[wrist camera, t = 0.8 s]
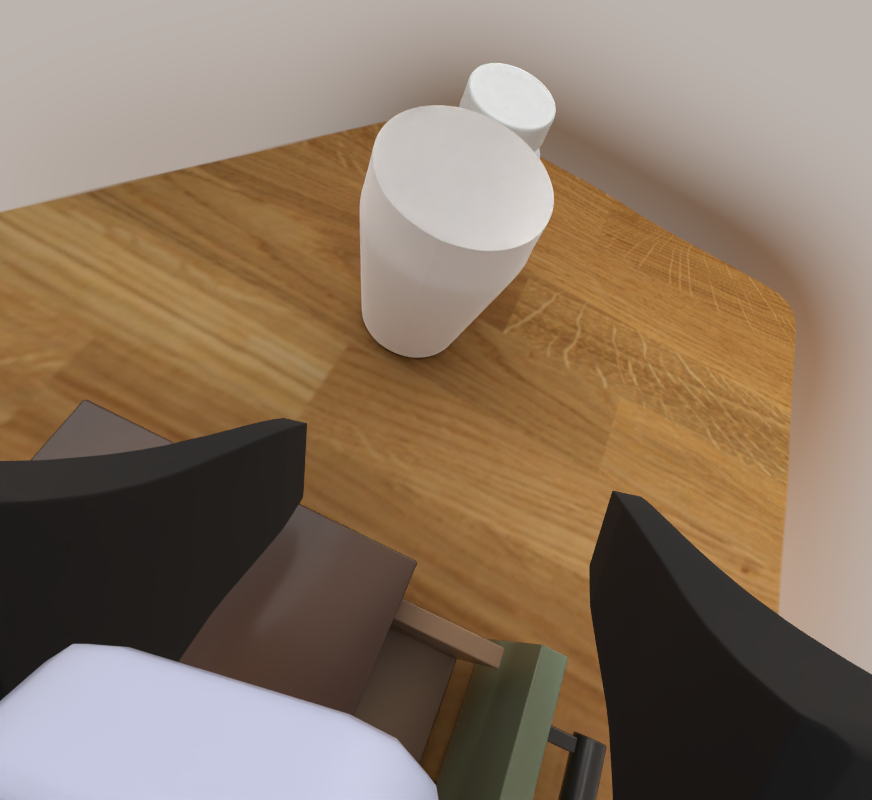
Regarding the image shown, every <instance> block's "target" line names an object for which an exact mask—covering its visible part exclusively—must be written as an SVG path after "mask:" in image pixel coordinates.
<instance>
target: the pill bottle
mask: <svg viewBox="0 0 872 800" xmlns="http://www.w3.org/2000/svg"><path fill="white" fill-rule="evenodd" d="M459 108H463V109H467V110H471V111H474V112H477V113H479V114H482V115H484V116H487V117H489V118H491V119H493V120H495V121H497V122H499V123H500V124H502V125H504V126H505V127H507V128H508V129H510V130H511V131H513V132H514V133H515V134H516V135H518V136H519V137H520V138H521V139H522V140H523V141H525V142H526V143H527V144H528V145H529V147H530V148H531V149H532V150H533V151H534V152H535V153H536V155H537V156H538V157H539V159H540V151H539V147H540V146H541V145H542V143H543V141H544V139H545V136H546V134H547V132H548V130H549V128H550V126H551V124H552V122H553V120H554V117H555V112H556V109H555V103H554V100H553V98H552V95H551V94H550V92H549V91H548V89H547V88H546V87H545V86H544V85H543V84H542V83H541V82H540V81H539V80H538V79H536V78H535V77H534V76H532V75H531V74H529V73H528V72H526V71H523V70H522V69H520V68H517V67H515V66H511V65H507V64H502V63H489V64H485V65H482V66H480V67H478V68H477V69H475V70H474V71H473V73H472V74H471V76H470V78H469V80H468V83H467V86H466V89H465V92H464V94H463V97H462V99H461V102H460V106H459Z"/></svg>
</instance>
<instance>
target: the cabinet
mask: <svg viewBox="0 0 872 800" xmlns="http://www.w3.org/2000/svg"><path fill="white" fill-rule="evenodd" d="M173 443H174V442H172V441H170V440H168V439H166V438H164V437H162V436H160V435H158V434H156V433H154V432H152V431H150V430H148V429H146V428H144V427H142V426H140V425H138V424H136V423H134V422H131V421H129V420H127V419H125V418H123V417H121V416H119V415H117V414H115V413H113V412H111V411H109V410H107V409H105V408H103V407H101V406H99V405H97V404H95V403H93V402H91V401H89V400H83V401H82V402H81V403H80V404H79V406H78V407H77V408H76V409H75V410H74V411H73V412H72V414H71V415H70V416H69V417H68V418H67V419H66V420H65V422H64V423H63V424H62V425H61V426H60V427H59V428H58V430H57V431H56V432H55V433H54V434H53V435H52V436H51V438H50V439H49V440H48V441H47V442H46V443H45V444H44V445H43V447H42V448H41V449H40V450H39V451H38V452H37V453H36V455H35V456H34V457H33V458H32V459H31V460H52V459H63V458H75V457H86V456H98V455H107V454H115V453H122V452H129V451H136V450H142V449H148V448H153V447H159V446H164V445H168V444H173ZM416 565H417V562H416V561H415V560H413V559H411V558H409V557H407V556H405V555H403V554H401V553H399V552H397V551H395V550H393V549H391V548H389V547H387V546H385V545H383V544H381V543H378V542H376V541H374V540H372V539H370V538H368V537H366V536H364V535H362V534H360V533H358V532H356V531H354V530H352V529H350V528H348V527H346V526H344V525H342V524H340V523H338V522H336V521H334V520H332V519H329V518H327V517H325V516H323V515H321V514H319V513H317V512H315V511H313V510H311V509H309V508H307V507H305V506H303V505H301V504H299V505H298V506H297V508H296V510H295V511H294V513H293V515H292V516H291V518H290V519H289V521H288V522H287V524H286V525H285V527H284V528H283V530H282V531H281V532H280V533H279V535H278V536H277V537H276V538H275V539H274V541H273V542H272V543H271V544H270V545H269V546H268V548H267V549H266V550H265V551H264V552H263V554H262V555H261V556H260V557H259V558H258V559H257V560H256V562H255V563H254V564H253V565H252V566H251V567H250V569H249V570H248V571H247V572H246V573H245V574H244V576H243V577H242V578H241V579H240V580H239V581H238V583H237V584H236V585H235V586H234V587H233V588H232V589H231V591H230V592H229V593H228V594H227V595H226V596H225V598H224V599H223V600H222V601H221V603H220V604H219V605H218V606H217V608H216V609H215V610H214V612H213V613H212V614H211V615H210V617H209V618H208V620H207V621H206V623H205V624H204V626H203V627H202V628H201V630H200V631H199V633H198V634H197V636H196V637H195V639H194V640H193V641H192V643H191V644H190V646H189V647H188V649H187V650H186V652H185V653H184V655H183V656H182V658H181V659H180V661H179V663H183V664H186V665H189V666H192V667H196V668H199V669H202V670H206V671H209V672H212V673H216V674H219V675H222V676H225V677H229V678H232V679H235V680H239V681H242V682H245V683H249V684H252V685H255V686H258V687H262V688H265V689H268V690H272V691H275V692H278V693H282V694H285V695H288V696H291V697H295V698H298V699H301V700H305V701H308V702H311V703H314V704H318V705H321V706H324V707H328V708H331V709H334V710H338V711H341V712H344V713H347V714H350V715H352V716H354V713H355V711H356V708H357V706H358V704H359V701H360V699H361V696H362V694H363V692H364V689H365V687H366V685H367V682H368V680H369V677H370V675H371V673H372V670H373V668H374V665H375V663H376V661H377V658H378V656H379V653H380V651H381V649H382V646H383V644H384V641H385V639H386V637H387V634H388V632H389V629H390V627H391V625H392V622H393V620H394V617H395V615H396V613H397V610H398V608H399V606H400V603H401V601H402V598H403V596H404V594H405V591H406V589H407V586H408V584H409V582H410V579H411V577H412V574H413V572H414V570H415V567H416Z"/></svg>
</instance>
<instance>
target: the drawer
mask: <svg viewBox="0 0 872 800" xmlns="http://www.w3.org/2000/svg"><path fill="white" fill-rule="evenodd" d="M456 659H459V660H463V661H467V662H471V663H475V666H474V669H473V672H472V676H471V679H470V682H469V685H468V688H467V691H466V694H465V697H464V700H463V703H462V706H461V709H460V712H459V715H458V718H457V721H456V724H455V727H454V730H453V733H452V736H451V739H450V742H449V745H448V748H447V751H446V754H445V757H444V760H443V764H442V767H441V770H440V773H439V776H438V779H437V782H436V788H437V794H438V800H532V799H533V795H534V791H535V787H536V783H537V779H538V775H539V771H540V767H541V763H542V759H543V755H544V751H545V747H546V743H547V741H548V742H550V743H552V744H554V745H556V746H559V747H561V748H563V749H565V750H567V751H569V755H568V759H567V763H566V768H565V772H564V776H563V781H562V785H561V789H560V794H559V798H558V800H596V797H597V792H598V787H599V782H600V777H601V772H602V767H603V762H604V757H605V752H606V746H605V745H604V744H602V743H600V742H598V741H596V740H594V739H591V738H589V737H587V736H585V735H582V734H580V733H578V732H574V733H573V736H572V735H570V734H568V733H566V732H564V731H562V730H560V729H558V728H556V727H553V726H551V723H552V719H553V715H554V711H555V707H556V703H557V699H558V695H559V691H560V687H561V683H562V679H563V675H564V671H565V667H566V663H567V659H568V657H567V656H565V655H563V654H561V653H558V652H556V651H554V650H552V649H550V648H548V647H546V646H544V645H540V644H530V643H521V642H511V641H502V640H492V639H485V638H483V637H481V636H479V635H477V634H475V633H473V632H471V631H468V630H466V629H464V628H462V627H460V626H458V625H456V624H454V623H452V622H450V621H448V620H446V619H444V618H442V617H440V616H437V615H435V614H433V613H431V612H429V611H427V610H425V609H423V608H421V607H419V606H417V605H415V604H413V603H411V602H409V601H406V600H404V599H402V601H401V603H400V606H399V608H398V610H397V613H396V615H395V617H394V620H393V622H392V625H391V627H390V629H389V632H388V634H387V637H386V639H385V641H384V644H383V646H382V649H381V651H380V653H379V656H378V658H377V661H376V663H375V665H374V668H373V670H372V673H371V675H370V677H369V680H368V682H367V685H366V687H365V689H364V692H363V694H362V696H361V699H360V701H359V704H358V706H357V708H356V711H355V713H354V717H356V718H358V719H360V720H362V721H364V722H366V723H368V724H369V725H371V726H373V727H375V728H377V729H379V730H381V731H383V732H385V733H387V734H389V735H391V736H393V737H395V738H397V739H398V741H399V742H400V743H401V744H402V745H403V746H404V748H405V749H406V750H407V751H408V752H409V753H410V754H411V756H412V757H413V758H414V759H415V760H416V761H417V763H418V764H419V765H420V762H421V759H422V757H423V754H424V751H425V748H426V745H427V742H428V739H429V736H430V734H431V731H432V728H433V725H434V722H435V719H436V716H437V713H438V711H439V708H440V705H441V702H442V699H443V696H444V693H445V690H446V688H447V685H448V682H449V679H450V676H451V673H452V670H453V667H454V665H455V662H456Z"/></svg>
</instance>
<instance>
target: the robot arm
mask: <svg viewBox="0 0 872 800" xmlns="http://www.w3.org/2000/svg"><path fill="white" fill-rule="evenodd" d="M306 433H307V423H303V422H298V421H294V420H289V419H285V418H281V419H273V420H268V421H263V422H259V423H255V424H251V425H247V426H243V427H239V428H235V429H231V430H227V431H224V432H220V433H216V434H212V435H208V436H204V437H199V438H195V439H190V440H186V441H182V442H177V443H173V444H168V445H164V446H159V447H153V448H148V449H142V450H136V451H129V452H122V453H115V454H107V455H98V456H86V457H75V458H63V459H52V460H30V461H0V800H438V794H437V788H436V785H435V784H434V782H433V781H432V779H431V778H430V777H429V775H428V774H427V773H426V772H425V771H424V769H423V768H422V767H421V766H420V765H419V764H418V763H417V761H416V760H415V759H414V758H413V757H412V756H411V754H410V753H409V752H408V751H407V750H406V749H405V748H404V746H403V745H402V744H401V743H400V742H399V741H398V739H397V738H395V737H393V736H391V735H389V734H387V733H385V732H383V731H381V730H379V729H377V728H375V727H373V726H371V725H369V724H368V723H366V722H364V721H362V720H360V719H358V718H356V717H354V716H352V715H350V714H347V713H344V712H341V711H338V710H334V709H331V708H328V707H324V706H321V705H318V704H314V703H311V702H308V701H305V700H301V699H298V698H295V697H291V696H288V695H285V694H282V693H278V692H275V691H272V690H268V689H265V688H262V687H258V686H255V685H252V684H249V683H245V682H242V681H239V680H235V679H232V678H229V677H225V676H222V675H219V674H216V673H212V672H209V671H206V670H202V669H199V668H196V667H192V666H189V665H186V664H183V663H179V661H180V659H181V658H182V656H183V655H184V653H185V652H186V650H187V649H188V647H189V646H190V644H191V643H192V641H193V640H194V639H195V637H196V636H197V634H198V633H199V631H200V630H201V628H202V627H203V626H204V624H205V623H206V621H207V620H208V618H209V617H210V615H211V614H212V613H213V612H214V610H215V609H216V608H217V606H218V605H219V604H220V603H221V601H222V600H223V599H224V598H225V596H226V595H227V594H228V593H229V592H230V591H231V589H232V588H233V587H234V586H235V585H236V584H237V583H238V581H239V580H240V579H241V578H242V577H243V576H244V574H245V573H246V572H247V571H248V570H249V569H250V567H251V566H252V565H253V564H254V563H255V562H256V560H257V559H258V558H259V557H260V556H261V555H262V554H263V552H264V551H265V550H266V549H267V548H268V546H269V545H270V544H271V543H272V542H273V541H274V539H275V538H276V537H277V536H278V535H279V533H280V532H281V531H282V530H283V528H284V527H285V525H286V524H287V522H288V521H289V519H290V518H291V516H292V515H293V513H294V511H295V510H296V508H297V506H298V505H299V503H300V501H301V500H302V498H303V490H304V471H305V452H306ZM590 608H591V615H592V621H593V627H594V634H595V640H596V646H597V652H598V658H599V664H600V670H601V676H602V682H603V688H604V694H605V700H606V707H607V715H608V723H609V735H610V752H611V768H612V787H613V800H872V674H870V673H868V672H866V671H865V670H863V669H861V668H859V667H858V666H856V665H854V664H853V663H851V662H849V661H848V660H846V659H845V658H843V657H841V656H840V655H838V654H837V653H835V652H833V651H832V650H830V649H829V648H827V647H826V646H824V645H822V644H821V643H819V642H818V641H816V640H814V639H813V638H811V637H810V636H808V635H807V634H805V633H804V632H802V631H801V630H799V629H798V628H796V627H795V626H793V625H792V624H790V623H789V622H787V621H786V620H784V619H783V618H782V617H781V616H779V615H778V614H777V613H775V612H774V611H772V610H771V609H770V608H768V607H767V606H766V605H764V604H763V603H761V602H760V601H759V600H757V599H756V598H755V597H753V596H752V595H751V594H750V593H748V592H747V591H746V590H744V589H743V588H742V587H741V586H739V585H738V584H737V583H736V582H735V581H733V580H732V579H731V578H730V577H729V576H728V575H726V574H725V573H724V572H723V571H722V570H720V569H719V568H718V567H717V566H716V565H715V564H713V563H712V562H711V561H710V560H709V559H708V558H707V557H706V556H704V555H703V554H702V553H701V552H700V551H699V550H698V549H697V548H696V547H695V546H694V545H693V544H691V543H690V542H689V541H688V540H687V539H686V538H685V537H684V536H683V535H682V534H681V533H680V532H679V531H678V530H677V529H676V528H675V527H674V526H673V525H672V524H671V523H670V522H669V521H667V520H666V519H665V518H664V517H663V516H662V515H661V514H660V513H659V512H658V511H657V510H656V509H655V508H654V507H653V506H652V505H651V504H649V503H648V502H647V501H646V500H645V499H643V498H642V497H639V496H635V495H630V494H626V493H621V492H616V491H612V494H611V498H610V501H609V504H608V507H607V511H606V514H605V517H604V521H603V524H602V527H601V530H600V534H599V537H598V540H597V543H596V547H595V550H594V553H593V557H592V560H591V563H590Z"/></svg>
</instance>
